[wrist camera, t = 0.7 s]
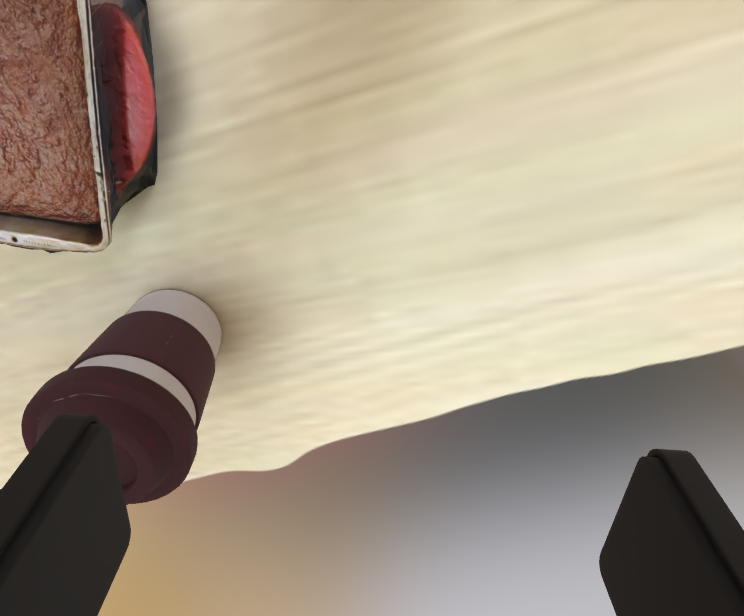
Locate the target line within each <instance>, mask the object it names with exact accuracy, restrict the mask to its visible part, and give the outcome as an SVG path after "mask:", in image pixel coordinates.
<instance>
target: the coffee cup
mask: <svg viewBox="0 0 744 616" xmlns="http://www.w3.org/2000/svg"><path fill="white" fill-rule="evenodd" d="M221 340H222V332H221V327H220V323H219V321H218V319H217V317H216V315H215V314H214V312H213V311H212V310H211V309H210V307H209V306H208V305H207V304H205V303H204V302H203V301H201V300H200V299H198V298H197V297H195V296H193V295H191V294H188V293H185V292H182V291H178V290H159V291H155V292H152V293H149V294H147V295H145V296H143V297H142V298H140V299H139V300H138V301H137V302H136V303H135V304H134V305H133V306H132V307H131V308H130V309H129V310H128V311H127V313H126V314H125V315H124V316H122V317H120V318H118V319H117V320H115V321H114V322H113V323H112V324H111V325H110V326H109V327H108V328H107V329H106V330H105V331H104V332H103V333H102V334H101V335H100V336H99V337H98V338H97V339H96V340H95V341H94V342H93V343H92V344H91V345H90V346H89V347H88V348H87V350H86V351H85V352H84V353H83V354H82V355H81V356H80V357H79V358H78V359H77V360H76V361H75V362H74V363H73V364H72V365H71V366H70V367H69V369H68V370H67V371H64V372H62V373H60V374H58V375H56V376H54V377H53V378H51V379H50V380H49V381H48V382H46V383H45V384H44V385H43V386H42V387H41V388H40V390H39V391H38V392H37V393H36V394H35V396H34V397H33V398H32V399H31V401H30V402H29V404H28V405H27V407H26V409H25V411H24V414H23V418H22V425H21V426H22V436H23V439H24V442H25V446H26V448H27V450H28V452H30V451H31V450H32V448H33V447H34V446H35V444H36V443H37V442H38V440H39V439H40V438H41V436H42V435H43V434H44V432H45V431H46V430H47V428H48V427H49V426H50V424H51V423H52V422H53V420H54V419H55V418H56V417H57V416H58V415H60V414H62V413H68V414H84V415H96V416H98V417H99V419H100V421H101V424H106V425H108V426H109V427H110V430H111V435H112V440H113V445H114V450H115V455H116V459H117V464H118V469H119V474H120V479H121V484H122V488H123V493H124V498H125V503H126V505H127V504H136V503H143V502H148V501H152V500H156V499H158V498H160V497H163V496H165V495H167V494H169V493H170V492H172V491H173V490H174V489H176V488H177V487H178V486H180V484H181V483H182V482H183V481H184V480H185V478H186V476H187V475H188V473H189V471H190V468H191V466H192V463H193V461H194V458H195V455H196V451H197V438H198V437H197V432H196V431H197V429H198V426H199V423H200V420H201V416H202V413H203V410H204V407H205V403H206V400H207V397H208V394H209V390H210V387H211V384H212V381H213V377H214V373H215V361H216V358H217V355H218V351H219V348H220V345H221Z"/></svg>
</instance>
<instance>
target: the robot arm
mask: <svg viewBox="0 0 744 616" xmlns="http://www.w3.org/2000/svg"><path fill="white" fill-rule="evenodd" d="M130 533H131V528H130V523H129V518H128V513H127V508H126V503H125V498H124V493H123V488H122V484H121V479H120V474H119V469H118V464H117V459H116V455H115V450H114V445H113V440H112V435H111V430H110V427H109V426H108V425H106V424H101V421H100V419H99V417H98V416H96V415H84V414H68V413H62V414H60V415H58V416H57V417H56V418H55V419H54V420H53V422H52V423H51V424H50V426H49V427H48V428H47V430H46V431H45V432H44V434H43V435H42V436H41V438H40V439H39V440H38V442H37V443H36V444H35V446H34V447H33V448H32V450H31V451H30V452H29V454H28V455H27V456H26V458H25V459H24V460H23V462H22V463H21V464H20V466H19V467H18V468H17V470H16V471H15V472H14V474H13V475H12V476H11V478H10V479H9V480H8V482H7V483H6V484H5V486H4V487H3V488H2V489H0V616H97V615H98V613H99V611H100V609H101V606H102V604H103V602H104V600H105V597H106V595H107V593H108V591H109V589H110V586H111V584H112V582H113V580H114V577H115V575H116V573H117V571H118V569H119V566H120V564H121V562H122V560H123V557H124V555H125V553H126V550H127V548H128V545H129V541H130ZM599 564H600V571H601V575H602V578H603V581H604V583H605V586H606V589H607V591H608V594H609V597H610V599H611V602H612V605H613V607H614V610H615V612H616V615H617V616H744V530H743V529H742V527H741V526H740V524H739V523H738V521H737V520H736V518H735V517H734V515H733V514H732V512H731V511H730V510H729V508H728V506H727V505H726V503H725V502H724V501H723V499H722V498H721V496H720V495H719V493H718V492H717V490H716V489H715V487H714V486H713V484H712V483H711V481H710V480H709V478H708V477H707V475H706V474H705V473H704V471H703V469H702V468H701V466H700V465H699V464H698V462H697V460H696V459H695V457H694V456H693V455H692V454H691V453H689V452H688V451H681V450H665V449H652V450H651V451H650V452H649V453H648V455H647V457H641V458H640V459H639V461H638V462H637V465H636V467H635V470H634V472H633V475H632V477H631V480H630V482H629V485H628V487H627V490H626V492H625V494H624V497H623V500H622V502H621V504H620V507H619V509H618V512H617V514H616V516H615V519H614V521H613V524H612V527H611V529H610V531H609V534H608V536H607V539H606V541H605V544H604V546H603V548H602V551H601V554H600V560H599Z"/></svg>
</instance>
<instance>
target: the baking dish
mask: <svg viewBox="0 0 744 616" xmlns="http://www.w3.org/2000/svg"><path fill="white" fill-rule="evenodd" d="M156 176H157V115H156V100H155V86H154V70H153V56H152V47H151V38H150V29H149V20H148V11H147V3H146V0H0V244H7V245H10V246H15V247H20V248H26V249H42V250H45V251H47V252H49V253H54V252H61V251H72V252H85V253H86V252H98V251H102V250H104V249H105V248H106V247H107V246H108V245H109V244H110V243H111V239H112V224H113V221H114V219H115V218H116V216H117V214H118V212H119V210H120V208H121V207H122V206H123V205H124V204H125V203H126V202H128V201H129V200H131V199H132V198H133V197H135V196H136V195H137V194H139V193H140V192H142V191H143V190H144V189H146V188H147V187H149V186H152V185H155V180H156Z"/></svg>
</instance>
